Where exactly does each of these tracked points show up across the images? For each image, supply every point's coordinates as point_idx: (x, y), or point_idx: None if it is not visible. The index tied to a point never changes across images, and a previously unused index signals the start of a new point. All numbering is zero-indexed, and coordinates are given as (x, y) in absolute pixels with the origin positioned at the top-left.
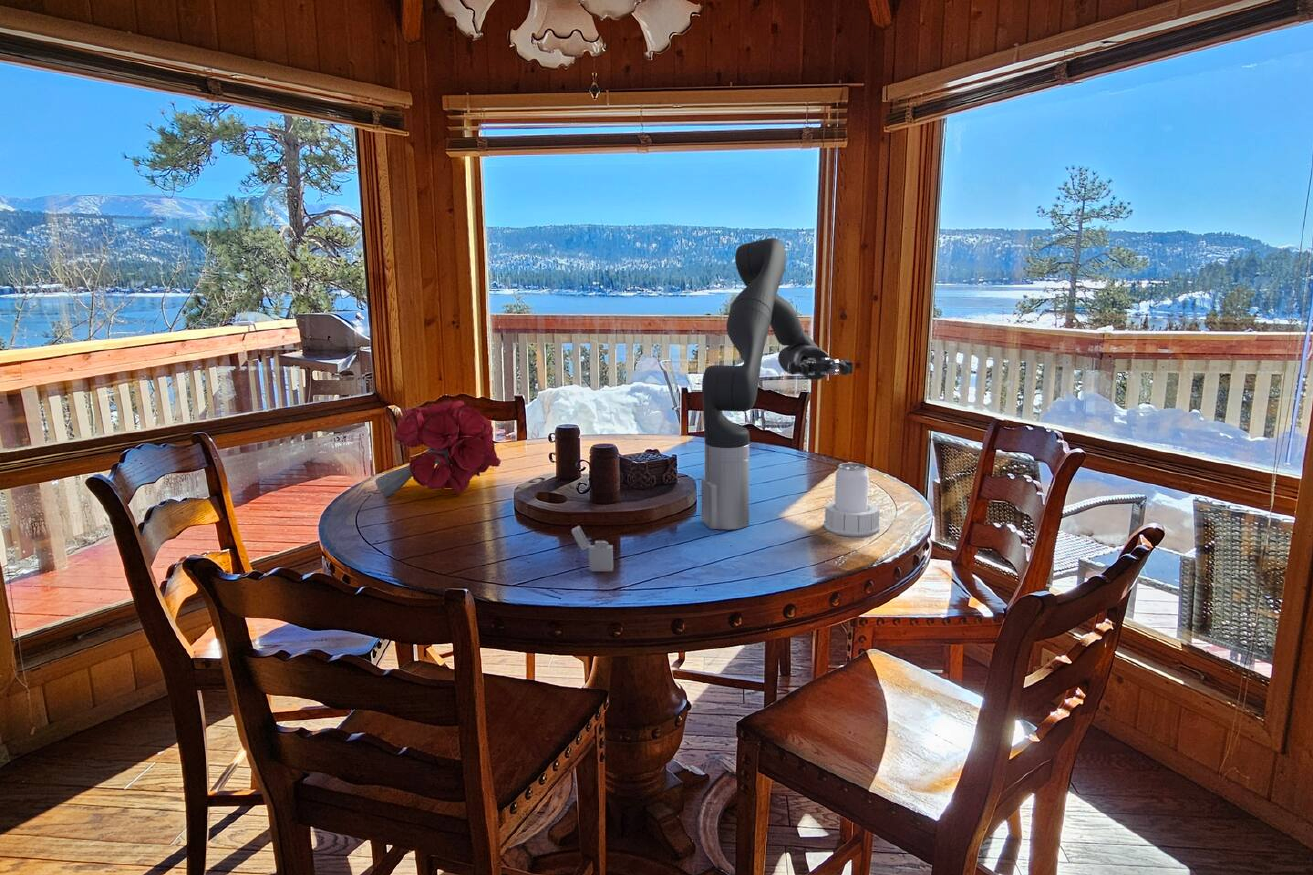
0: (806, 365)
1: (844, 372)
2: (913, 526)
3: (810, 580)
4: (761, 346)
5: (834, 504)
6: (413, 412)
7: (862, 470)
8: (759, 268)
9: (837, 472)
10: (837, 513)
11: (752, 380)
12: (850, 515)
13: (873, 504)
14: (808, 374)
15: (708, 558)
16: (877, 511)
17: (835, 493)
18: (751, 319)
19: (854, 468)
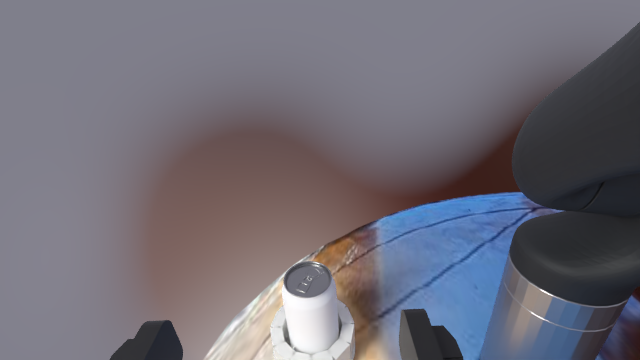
0: (421, 340)
1: (178, 341)
2: (220, 354)
3: (381, 223)
4: (609, 68)
5: (336, 341)
6: None
7: (297, 266)
8: None
9: (334, 282)
10: (340, 302)
11: (526, 120)
12: None
13: (274, 337)
14: (399, 340)
15: (486, 256)
16: (282, 306)
17: (337, 311)
18: None
19: (305, 276)
